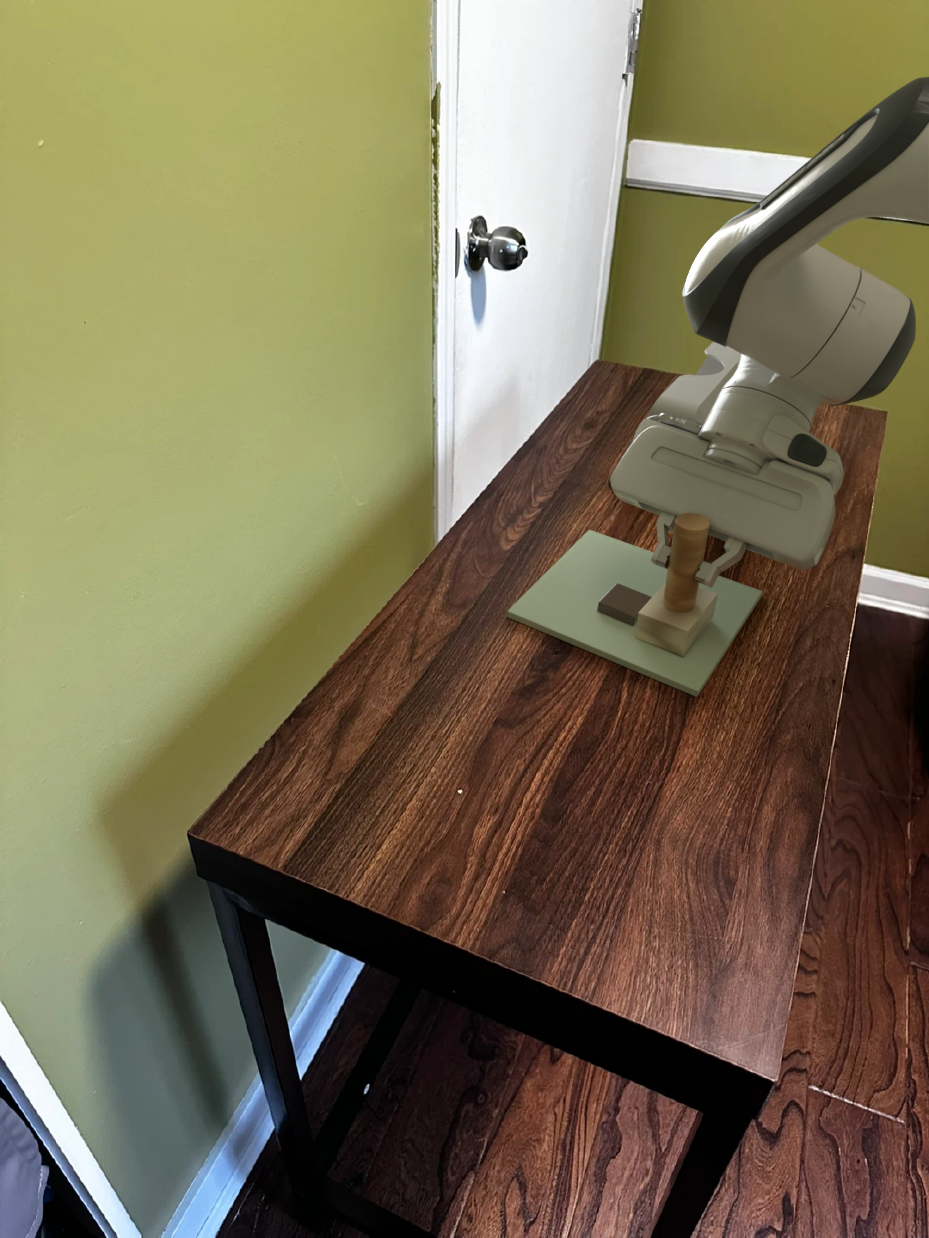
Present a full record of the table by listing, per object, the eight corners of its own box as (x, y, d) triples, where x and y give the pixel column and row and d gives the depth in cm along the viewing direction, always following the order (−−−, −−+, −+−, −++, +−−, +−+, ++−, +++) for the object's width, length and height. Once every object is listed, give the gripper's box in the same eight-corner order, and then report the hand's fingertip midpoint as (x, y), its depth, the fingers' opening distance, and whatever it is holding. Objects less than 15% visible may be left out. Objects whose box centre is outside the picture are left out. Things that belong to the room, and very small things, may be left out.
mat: (761, 597, 89) (763, 591, 88) (697, 697, 77) (698, 691, 76) (588, 535, 97) (589, 529, 96) (506, 617, 85) (506, 610, 85)
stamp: (713, 618, 84) (734, 512, 77) (683, 656, 80) (703, 547, 72) (666, 601, 86) (682, 497, 79) (634, 637, 82) (649, 530, 75)
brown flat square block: (650, 606, 86) (652, 596, 85) (632, 626, 83) (634, 617, 82) (615, 591, 88) (616, 582, 87) (596, 611, 85) (598, 601, 84)
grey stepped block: (731, 523, 100) (757, 425, 92) (604, 485, 106) (618, 389, 98) (785, 439, 117) (811, 350, 109) (673, 410, 123) (690, 323, 115)
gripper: (641, 393, 81) (574, 524, 81) (859, 462, 71) (783, 610, 71) (656, 421, 86) (593, 543, 86) (859, 488, 77) (789, 626, 77)
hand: (680, 574), depth 79 cm, fingers closed on stamp, 3 cm apart
